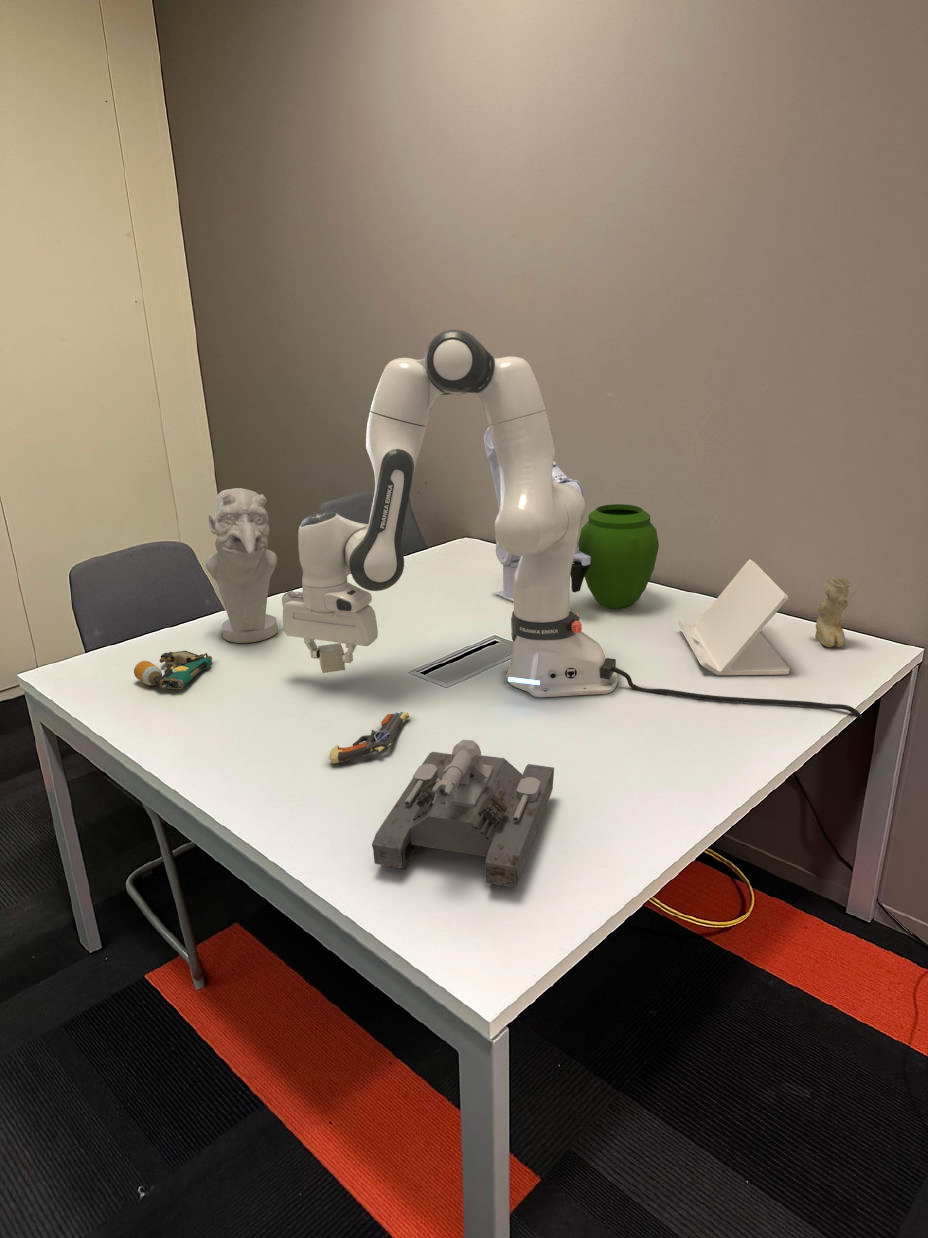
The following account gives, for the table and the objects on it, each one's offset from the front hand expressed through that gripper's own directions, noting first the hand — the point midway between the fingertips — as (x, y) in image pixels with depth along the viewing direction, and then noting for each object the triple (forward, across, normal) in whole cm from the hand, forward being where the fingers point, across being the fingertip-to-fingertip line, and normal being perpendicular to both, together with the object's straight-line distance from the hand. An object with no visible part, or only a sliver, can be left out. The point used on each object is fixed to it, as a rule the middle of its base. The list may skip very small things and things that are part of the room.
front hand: (332, 659), depth 172 cm
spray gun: (+6, -34, -7) cm, 35 cm away
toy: (+6, +45, -38) cm, 59 cm away
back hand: (-1, +33, +54) cm, 63 cm away
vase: (+6, +43, +65) cm, 78 cm away
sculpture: (+6, +93, +55) cm, 108 cm away
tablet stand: (+6, +73, +43) cm, 85 cm away
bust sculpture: (+6, -31, +16) cm, 35 cm away
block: (+2, 0, 0) cm, 2 cm away
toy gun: (+6, +18, -19) cm, 27 cm away
